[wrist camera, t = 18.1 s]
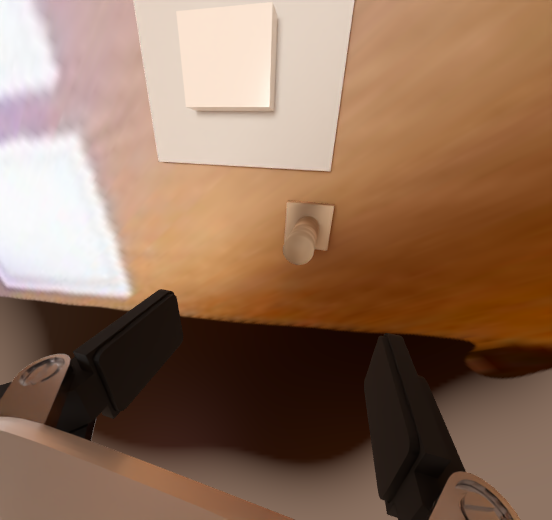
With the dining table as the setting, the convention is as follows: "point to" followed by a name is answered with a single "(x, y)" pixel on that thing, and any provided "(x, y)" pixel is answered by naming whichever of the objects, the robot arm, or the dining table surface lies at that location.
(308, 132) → the mat
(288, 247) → the pusher
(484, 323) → the dining table surface
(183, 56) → the tile
